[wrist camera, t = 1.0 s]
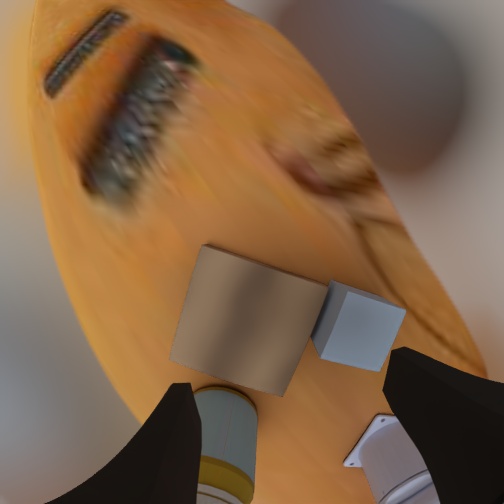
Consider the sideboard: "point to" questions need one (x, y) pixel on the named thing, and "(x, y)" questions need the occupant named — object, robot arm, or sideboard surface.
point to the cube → (356, 327)
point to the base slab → (246, 320)
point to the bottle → (226, 446)
